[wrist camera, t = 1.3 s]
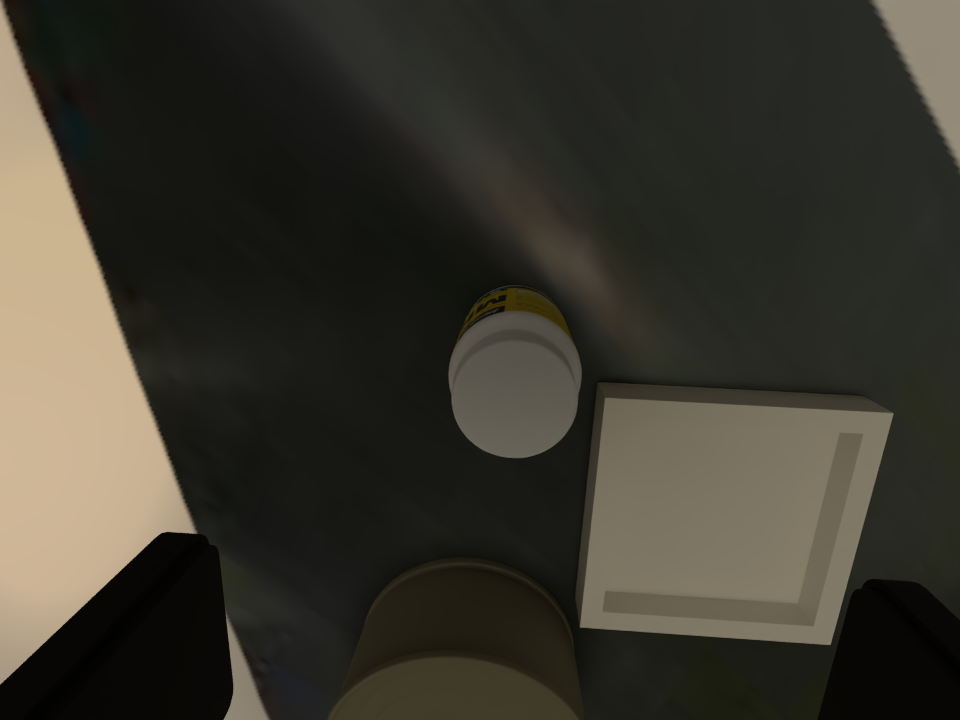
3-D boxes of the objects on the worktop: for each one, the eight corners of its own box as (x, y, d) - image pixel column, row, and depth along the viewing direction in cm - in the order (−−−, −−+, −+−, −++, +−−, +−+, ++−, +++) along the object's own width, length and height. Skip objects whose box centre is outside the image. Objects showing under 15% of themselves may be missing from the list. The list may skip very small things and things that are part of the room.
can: (574, 548, 28) (593, 655, 22) (579, 728, 32) (598, 867, 25) (346, 556, 29) (297, 661, 23) (374, 729, 32) (340, 865, 26)
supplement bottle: (498, 263, 24) (492, 296, 16) (587, 320, 25) (624, 379, 17) (442, 351, 25) (411, 422, 17) (527, 403, 26) (535, 495, 18)
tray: (597, 381, 25) (605, 397, 23) (862, 395, 25) (893, 413, 23) (575, 597, 29) (579, 627, 27) (807, 613, 28) (830, 644, 26)
